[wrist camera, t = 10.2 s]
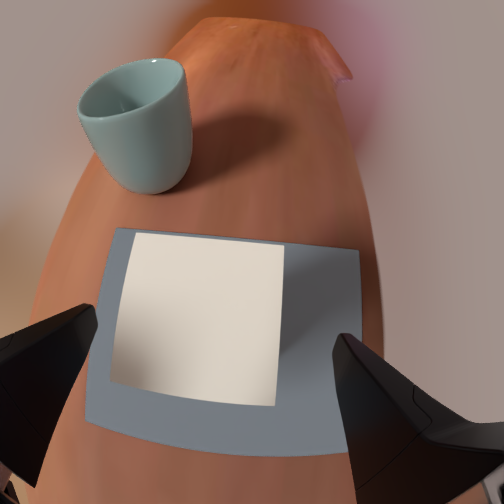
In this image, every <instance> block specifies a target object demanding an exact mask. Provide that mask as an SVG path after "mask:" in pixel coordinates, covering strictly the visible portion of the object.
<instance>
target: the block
mask: <svg viewBox="0 0 504 504" xmlns="http://www.w3.org/2000/svg"><path fill="white" fill-rule="evenodd" d="M283 266H284V246H283V245H273V244H262V243H252V242H241V241H230V240H219V239H208V238H196V237H185V236H173V235H161V234H149V233H137V232H136V235H135V238H134V242H133V246H132V250H131V254H130V258H129V263H128V267H127V271H126V276H125V281H124V285H123V290H122V295H121V301H120V306H119V312H118V318H117V324H116V331H115V337H114V345H113V353H112V362H111V371H110V381H112V382H115V383H119V384H123V385H127V386H131V387H135V388H139V389H143V390H148V391H152V392H157V393H162V394H167V395H173V396H178V397H184V398H191V399H198V400H205V401H213V402H222V403H232V404H244V405H260V406H275V398H276V386H277V373H278V359H279V344H280V328H281V310H282V289H283Z"/></svg>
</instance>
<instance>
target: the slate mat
mask: <svg viewBox="0 0 504 504" xmlns="http://www.w3.org/2000/svg"><path fill="white" fill-rule="evenodd" d="M136 232H137V233H149V234H161V235H173V236H185V237H196V238H208V239H219V240H230V241H241V242H252V243H262V244H273V245H283V246H284V266H283V289H282V310H281V328H280V344H279V359H278V373H277V386H276V398H275V406H260V405H244V404H232V403H222V402H213V401H205V400H198V399H191V398H184V397H178V396H173V395H167V394H162V393H157V392H152V391H148V390H143V389H139V388H135V387H131V386H127V385H123V384H119V383H115V382H112V381H110V371H111V362H112V353H113V345H114V337H115V331H116V324H117V318H118V312H119V306H120V301H121V295H122V290H123V285H124V281H125V276H126V271H127V267H128V263H129V258H130V254H131V250H132V246H133V242H134V238H135V235H136ZM96 316H97V321H98V329H97V331H96V334H95V336H94V339H93V341H92V344H91V347H90V354H89V363H88V373H87V386H86V405H85V421H87V422H90V423H92V424H95V425H98V426H101V427H103V428H106V429H109V430H112V431H116V432H119V433H122V434H125V435H129V436H132V437H136V438H140V439H143V440H147V441H151V442H156V443H160V444H165V445H169V446H174V447H180V448H185V449H191V450H198V451H205V452H213V453H221V454H232V455H246V456H310V455H323V454H334V453H343V452H348V447H347V442H346V437H345V432H344V427H343V422H342V418H341V413H340V408H339V404H338V399H337V394H336V388H335V379H334V370H333V361H332V350H333V347H334V345H335V342H336V339H337V336H338V334H339V333H351V334H352V335H353V336H354V337H356V338H357V339H358V340H359V341H361V342H362V296H361V274H360V259H359V250H352V249H342V248H333V247H323V246H314V245H304V244H294V243H284V242H274V241H263V240H253V239H242V238H231V237H220V236H209V235H198V234H186V233H175V232H163V231H151V230H138V229H125V228H116V230H115V234H114V237H113V240H112V244H111V248H110V251H109V255H108V259H107V263H106V267H105V271H104V275H103V279H102V284H101V288H100V293H99V298H98V303H97V308H96Z"/></svg>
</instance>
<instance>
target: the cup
mask: <svg viewBox="0 0 504 504" xmlns="http://www.w3.org/2000/svg"><path fill="white" fill-rule="evenodd" d="M77 114H78V117H79V120H80V122H81V125H82V127H83V129H84V131H85V133H86V135H87V137H88V139H89V141H90V143H91V145H92V147H93V149H94V151H95V152H96V154H97V156H98V158H99V159H100V161H101V163H102V164H103V166H104V167H105V169H106V170H107V172H108V173H109V174H110V175H111V177H112V178H113V179H114V180H115V181H116V182H117V183H118V184H119V185H120V186H121V187H123V188H125V189H126V190H128V191H130V192H133V193H137V194H143V195H151V194H157V193H161V192H164V191H167V190H169V189H171V188H172V187H174V186H175V185H176V184H178V183H179V182H180V180H181V179H182V178H183V177H184V175H185V173H186V172H187V170H188V167H189V164H190V161H191V157H192V149H193V128H192V118H191V109H190V101H189V93H188V85H187V79H186V73H185V70H184V68H183V66H182V65H181V64H180V63H178V62H177V61H174V60H171V59H165V58H153V59H144V60H139V61H135V62H131V63H127V64H124V65H122V66H119V67H117V68H114V69H112V70H110V71H108V72H107V73H105V74H104V75H102V76H101V77H99V78H98V79H97V80H95V81H94V82H93V83H92V84H91V85H90V86H89V87H88V88H87V89H86V90H85V91H84V93H83V94H82V96H81V97H80V100H79V102H78V105H77Z"/></svg>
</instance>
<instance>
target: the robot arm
mask: <svg viewBox="0 0 504 504" xmlns="http://www.w3.org/2000/svg"><path fill="white" fill-rule="evenodd" d="M97 329H98V321H97V316H96V312H95V308H94V306H93V305H91V304H86V303H83V304H81V305H78V306H76V307H73V308H71V309H69V310H66V311H64V312H61V313H59V314H57V315H54V316H52V317H50V318H47V319H45V320H43V321H40V322H38V323H35V324H33V325H31V326H28V327H26V328H24V329H22V330H19V331H17V332H15V333H13V334H10V335H8V336H5V337H3V338H0V504H20V503H19V500H18V498H17V495H16V492H15V489H14V487H13V484H12V482H11V481H10V480H9V478H10V476H11V474H12V473H13V474H15V475H16V476H17V477H19V478H20V479H22V480H23V481H24V482H26V483H27V484H29V485H30V486H32V487H33V488H35V487H36V484H37V480H38V477H39V474H40V470H41V467H42V464H43V461H44V458H45V455H46V452H47V449H48V446H49V443H50V440H51V438H52V435H53V432H54V430H55V427H56V425H57V422H58V420H59V417H60V415H61V412H62V410H63V407H64V405H65V403H66V400H67V398H68V396H69V394H70V391H71V389H72V387H73V385H74V383H75V380H76V378H77V376H78V374H79V372H80V370H81V368H82V366H83V364H84V362H85V359H86V357H87V355H88V352H89V349H90V347H91V344H92V341H93V339H94V336H95V334H96V331H97ZM332 361H333V370H334V379H335V388H336V394H337V399H338V404H339V408H340V413H341V418H342V422H343V427H344V432H345V437H346V442H347V447H348V453H349V458H350V463H351V469H352V475H353V481H354V487H355V491H356V492H355V494H356V500H357V504H504V422H496V423H474V422H470V421H468V420H466V419H464V418H463V417H461V416H460V415H458V414H456V413H455V412H453V411H452V410H450V409H449V408H447V407H446V406H444V405H442V404H441V403H440V402H438V401H436V400H435V399H433V398H432V397H431V396H429V395H428V394H427V393H425V392H424V391H423V390H421V389H420V388H419V387H418V386H416V385H414V383H412V382H411V381H410V380H409V379H407V378H406V377H405V376H404V375H402V374H401V373H400V372H399V371H397V370H396V369H395V368H394V367H392V366H391V365H390V364H389V363H387V362H386V361H385V360H383V359H382V358H381V357H380V356H378V355H377V354H376V353H375V352H373V351H372V350H371V349H370V348H368V347H367V346H366V345H365V344H363V343H362V342H361V341H359V340H358V339H357V338H356V337H354V336H353V335H352V334H351V333H339V334H338V336H337V339H336V342H335V345H334V347H333V350H332Z"/></svg>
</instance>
